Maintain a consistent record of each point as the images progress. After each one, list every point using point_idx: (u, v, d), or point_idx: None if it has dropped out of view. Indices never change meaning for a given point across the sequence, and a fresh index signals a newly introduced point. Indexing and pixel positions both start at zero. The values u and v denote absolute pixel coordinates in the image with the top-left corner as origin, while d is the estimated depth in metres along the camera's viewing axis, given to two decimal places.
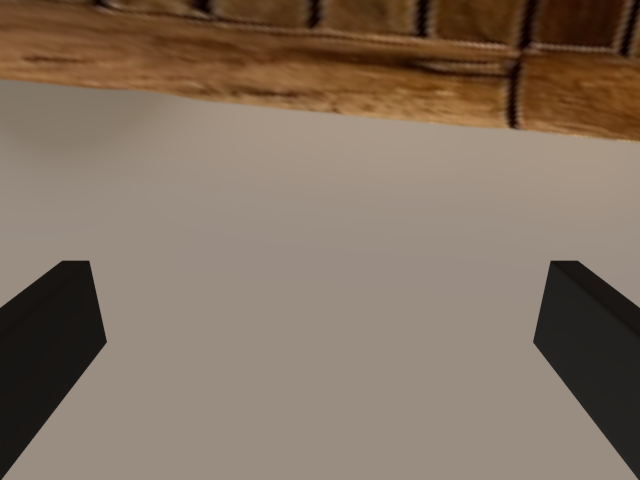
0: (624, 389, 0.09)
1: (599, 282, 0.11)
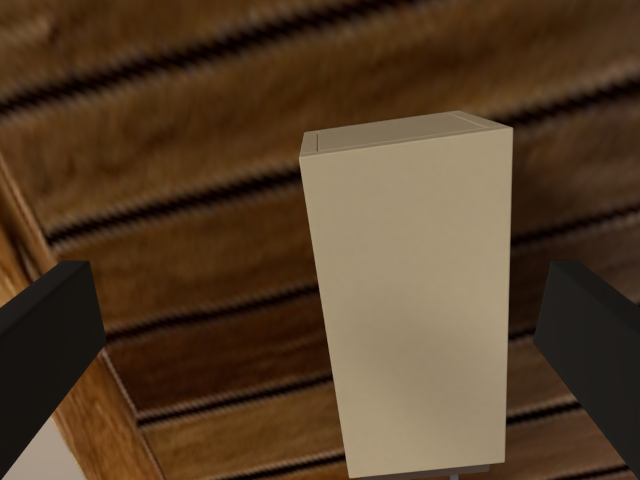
0: (623, 388, 0.09)
1: (599, 282, 0.11)
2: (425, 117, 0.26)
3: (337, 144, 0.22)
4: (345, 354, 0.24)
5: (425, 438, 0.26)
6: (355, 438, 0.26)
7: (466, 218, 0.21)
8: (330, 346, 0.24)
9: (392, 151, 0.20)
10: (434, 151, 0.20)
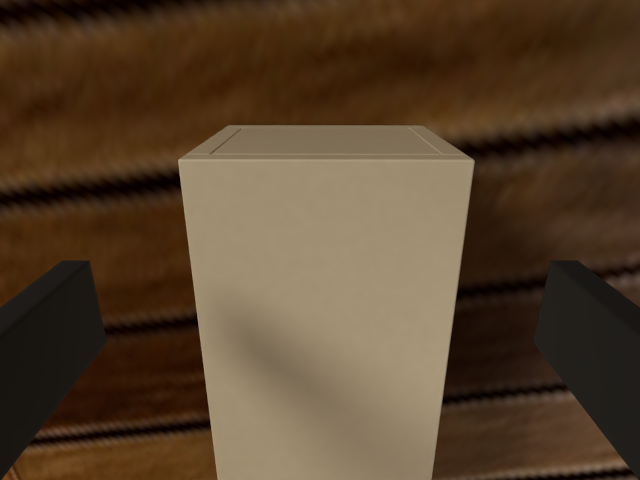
0: (624, 388, 0.09)
1: (599, 282, 0.11)
2: (378, 128, 0.21)
3: (243, 148, 0.16)
4: (230, 419, 0.19)
5: None
6: None
7: (400, 271, 0.16)
8: (211, 408, 0.18)
9: (307, 168, 0.14)
10: (365, 177, 0.14)
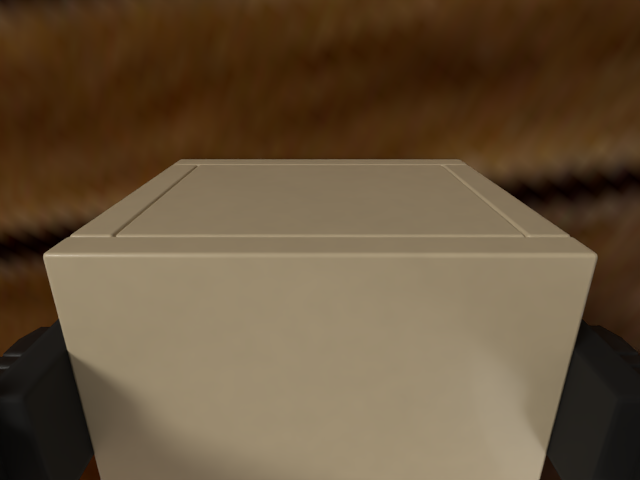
0: None
1: None
2: (398, 166, 0.14)
3: (179, 217, 0.09)
4: None
5: None
6: None
7: (450, 431, 0.09)
8: None
9: (286, 270, 0.08)
10: (393, 284, 0.08)
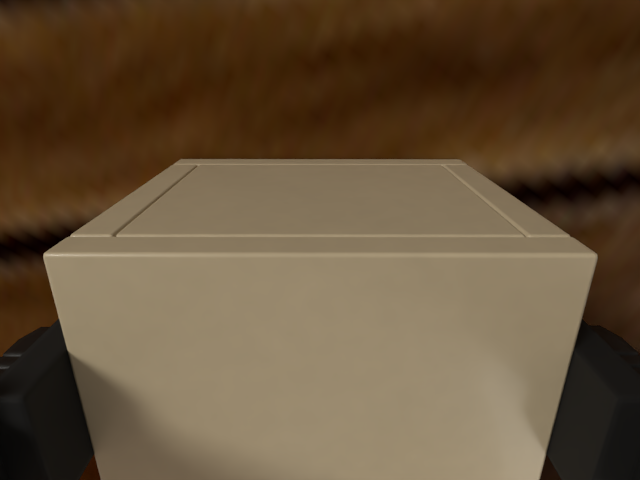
0: None
1: None
2: (398, 166, 0.14)
3: (180, 217, 0.09)
4: None
5: None
6: None
7: (450, 431, 0.09)
8: None
9: (286, 270, 0.08)
10: (393, 284, 0.08)
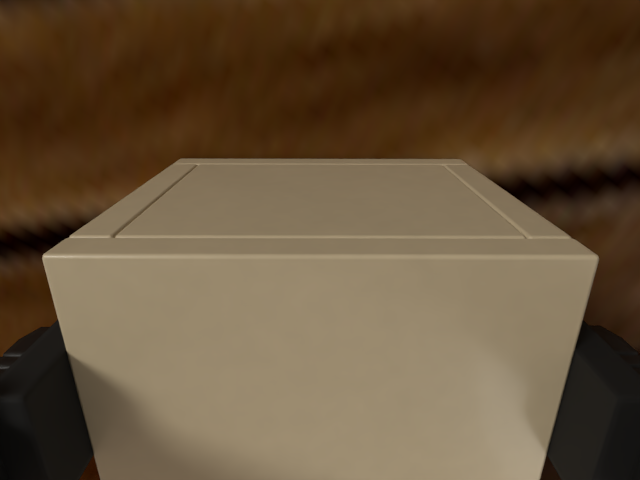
0: None
1: None
2: (398, 165, 0.14)
3: (179, 218, 0.09)
4: None
5: None
6: None
7: (450, 433, 0.09)
8: None
9: (286, 271, 0.08)
10: (393, 285, 0.08)
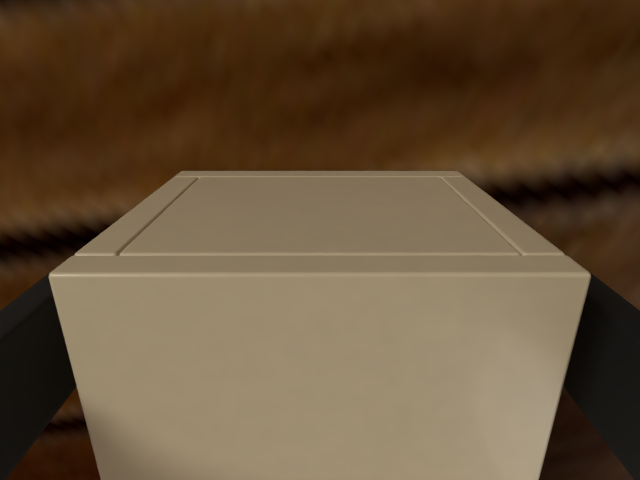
0: (617, 386, 0.09)
1: (594, 281, 0.11)
2: (396, 178, 0.14)
3: (181, 234, 0.10)
4: None
5: None
6: None
7: (447, 445, 0.09)
8: None
9: (286, 289, 0.08)
10: (391, 302, 0.08)
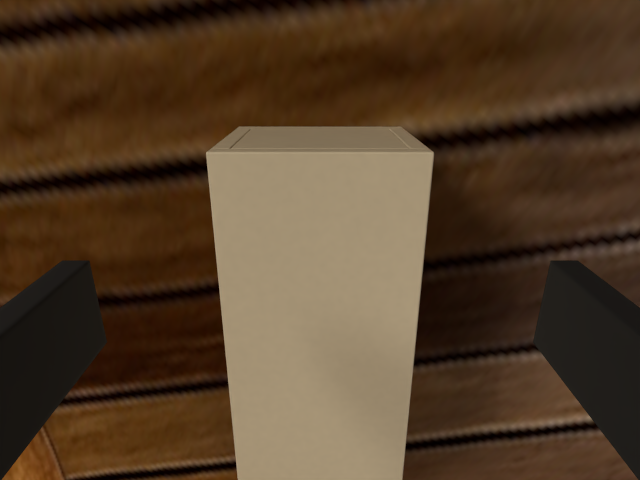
0: (624, 388, 0.09)
1: (599, 282, 0.11)
2: (364, 129, 0.25)
3: (255, 144, 0.20)
4: (243, 365, 0.23)
5: (321, 461, 0.25)
6: (247, 453, 0.25)
7: (379, 240, 0.20)
8: (227, 355, 0.23)
9: (306, 159, 0.19)
10: (350, 165, 0.19)
